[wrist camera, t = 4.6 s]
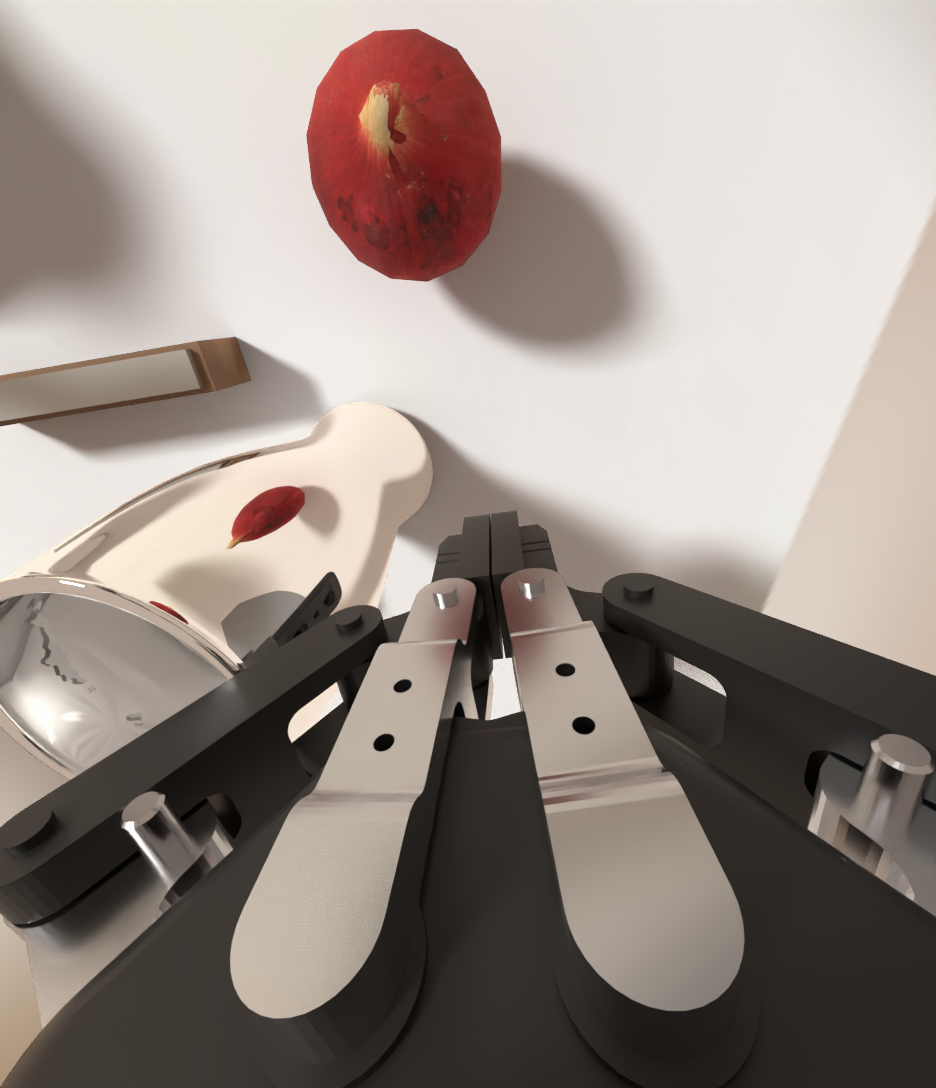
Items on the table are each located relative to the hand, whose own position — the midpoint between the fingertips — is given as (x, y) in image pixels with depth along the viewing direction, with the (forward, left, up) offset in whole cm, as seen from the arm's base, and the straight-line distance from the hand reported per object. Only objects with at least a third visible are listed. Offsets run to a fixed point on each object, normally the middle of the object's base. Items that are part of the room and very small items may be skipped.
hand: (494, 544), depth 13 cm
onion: (-10, -1, -10) cm, 14 cm away
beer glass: (0, -6, -9) cm, 11 cm away
